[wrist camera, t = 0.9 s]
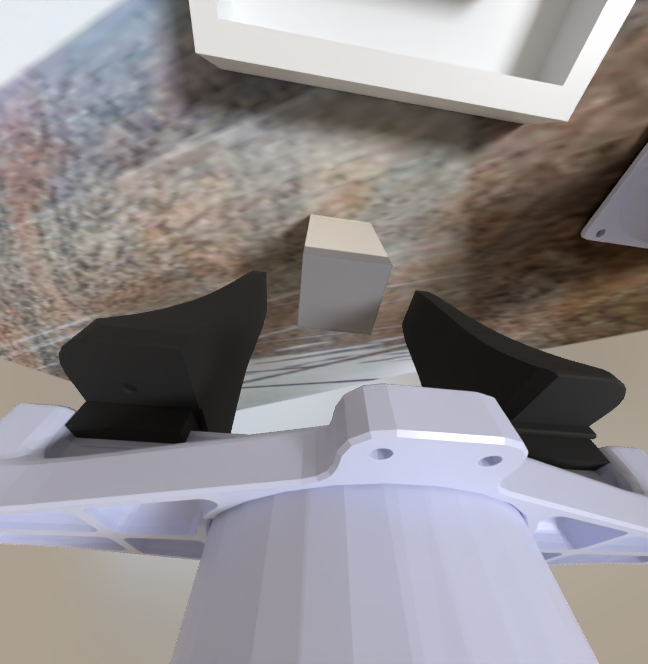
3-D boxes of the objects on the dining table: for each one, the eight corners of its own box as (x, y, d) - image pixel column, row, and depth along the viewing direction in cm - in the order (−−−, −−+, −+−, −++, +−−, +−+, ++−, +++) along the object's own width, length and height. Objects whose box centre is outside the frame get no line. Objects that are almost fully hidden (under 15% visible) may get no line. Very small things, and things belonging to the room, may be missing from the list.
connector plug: (370, 222, 17) (392, 265, 11) (357, 277, 19) (370, 334, 13) (310, 214, 16) (303, 253, 11) (305, 270, 19) (297, 326, 13)
